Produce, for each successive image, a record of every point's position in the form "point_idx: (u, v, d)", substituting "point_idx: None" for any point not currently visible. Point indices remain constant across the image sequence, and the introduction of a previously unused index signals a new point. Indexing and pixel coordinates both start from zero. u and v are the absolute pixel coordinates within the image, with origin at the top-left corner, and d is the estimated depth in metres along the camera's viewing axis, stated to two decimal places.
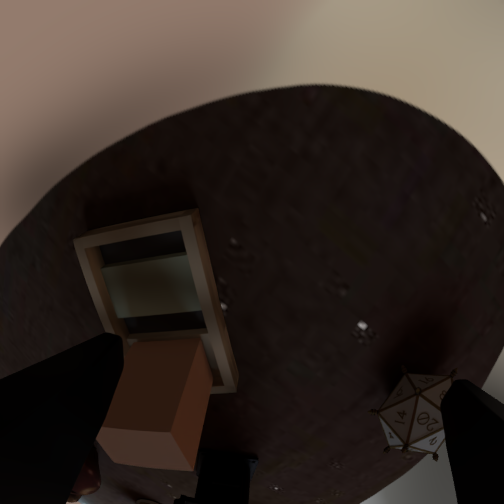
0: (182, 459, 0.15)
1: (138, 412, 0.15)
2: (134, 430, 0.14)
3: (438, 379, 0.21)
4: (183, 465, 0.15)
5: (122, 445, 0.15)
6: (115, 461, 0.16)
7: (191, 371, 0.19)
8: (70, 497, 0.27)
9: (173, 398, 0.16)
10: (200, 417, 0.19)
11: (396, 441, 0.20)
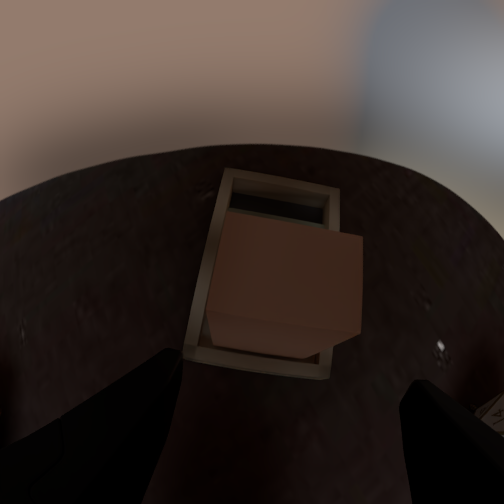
0: (357, 296, 0.11)
1: None
2: (311, 227, 0.12)
3: None
4: (352, 314, 0.11)
5: (267, 258, 0.12)
6: (212, 305, 0.11)
7: None
8: None
9: None
10: None
11: None
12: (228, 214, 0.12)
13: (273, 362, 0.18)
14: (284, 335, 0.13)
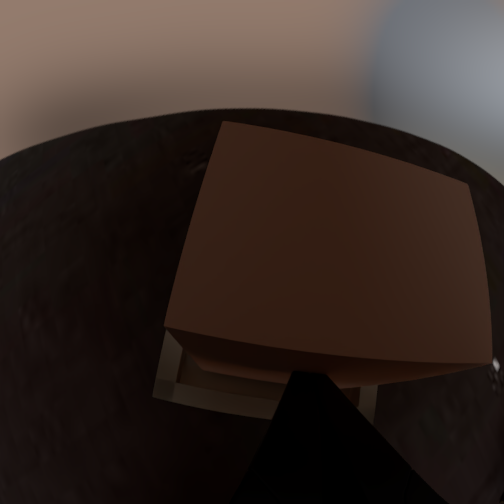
0: (481, 291, 0.05)
1: None
2: (388, 158, 0.06)
3: None
4: (478, 326, 0.04)
5: (311, 208, 0.05)
6: (181, 314, 0.04)
7: None
8: None
9: None
10: None
11: None
12: (226, 126, 0.06)
13: None
14: (335, 371, 0.06)
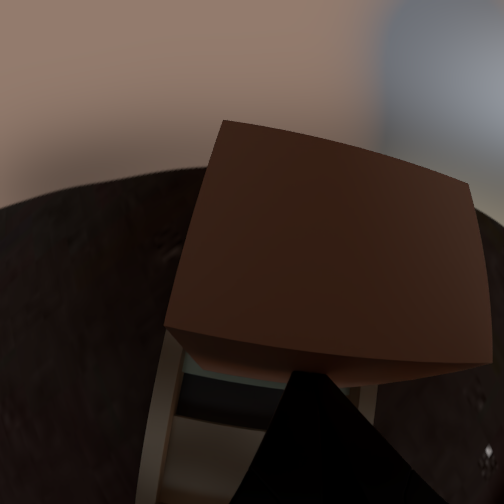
0: (482, 291, 0.05)
1: None
2: (388, 157, 0.06)
3: None
4: (478, 327, 0.04)
5: (311, 207, 0.05)
6: (181, 313, 0.04)
7: None
8: None
9: None
10: None
11: None
12: (226, 125, 0.06)
13: None
14: (335, 371, 0.06)
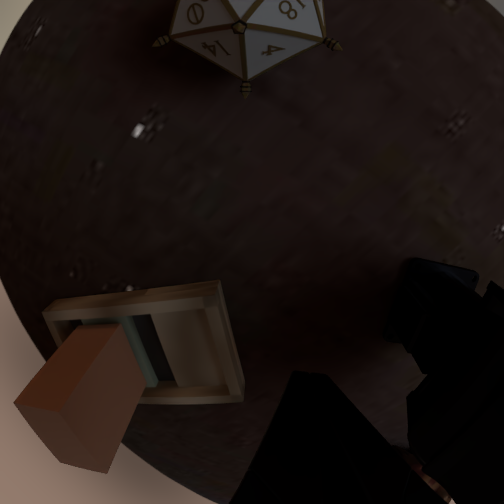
0: (43, 411, 0.12)
1: None
2: (33, 429, 0.13)
3: None
4: (53, 415, 0.12)
5: (64, 450, 0.13)
6: (102, 471, 0.14)
7: (57, 352, 0.17)
8: None
9: None
10: (80, 365, 0.16)
11: (267, 38, 0.11)
12: (60, 461, 0.14)
13: (218, 345, 0.20)
14: (95, 417, 0.15)
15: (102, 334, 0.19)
